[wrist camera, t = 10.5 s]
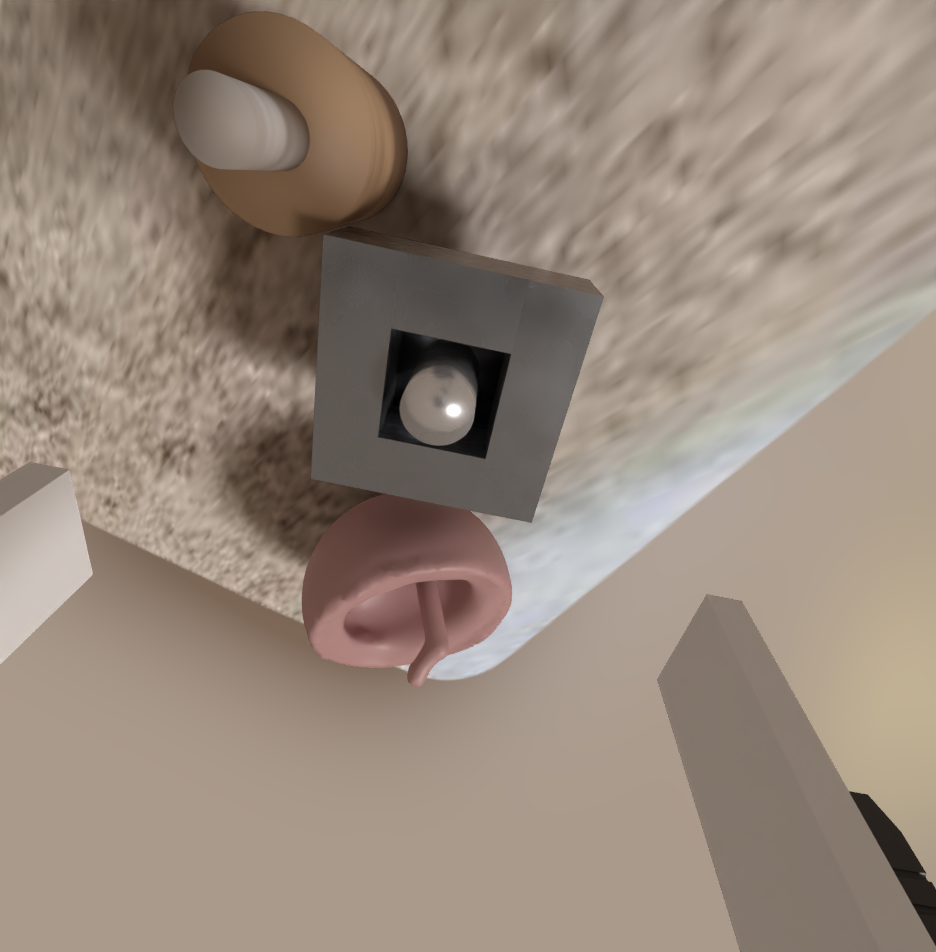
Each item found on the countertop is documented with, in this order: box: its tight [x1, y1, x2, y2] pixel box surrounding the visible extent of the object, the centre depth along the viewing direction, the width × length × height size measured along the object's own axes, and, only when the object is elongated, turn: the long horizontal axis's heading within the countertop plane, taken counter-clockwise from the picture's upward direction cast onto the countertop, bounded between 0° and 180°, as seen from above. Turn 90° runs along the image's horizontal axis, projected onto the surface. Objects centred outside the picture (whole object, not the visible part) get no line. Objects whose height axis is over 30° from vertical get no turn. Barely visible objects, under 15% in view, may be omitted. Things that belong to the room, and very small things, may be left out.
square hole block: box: [311, 226, 604, 523], centre depth 22 cm, size 10×10×4 cm
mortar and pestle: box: [302, 494, 512, 687], centre depth 31 cm, size 12×12×12 cm
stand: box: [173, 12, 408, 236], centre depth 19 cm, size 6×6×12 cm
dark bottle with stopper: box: [393, 331, 505, 446], centre depth 24 cm, size 7×7×11 cm
